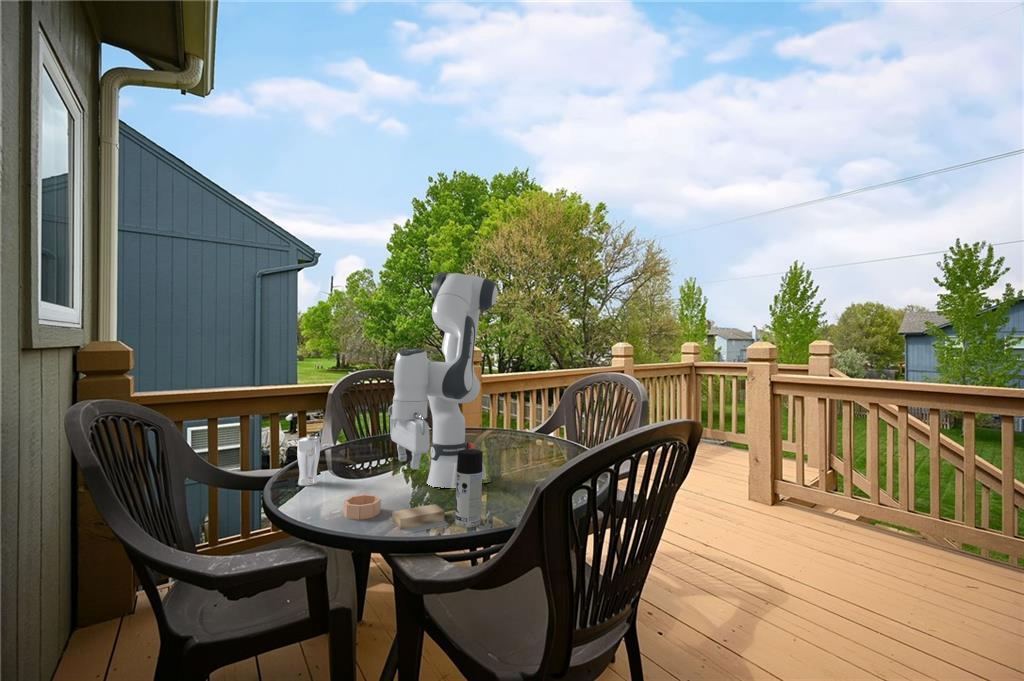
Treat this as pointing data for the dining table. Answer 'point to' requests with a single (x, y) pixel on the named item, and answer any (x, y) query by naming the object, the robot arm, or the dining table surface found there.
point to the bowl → (362, 507)
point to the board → (418, 516)
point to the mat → (423, 527)
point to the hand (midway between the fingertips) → (408, 464)
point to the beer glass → (308, 460)
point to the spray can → (469, 488)
